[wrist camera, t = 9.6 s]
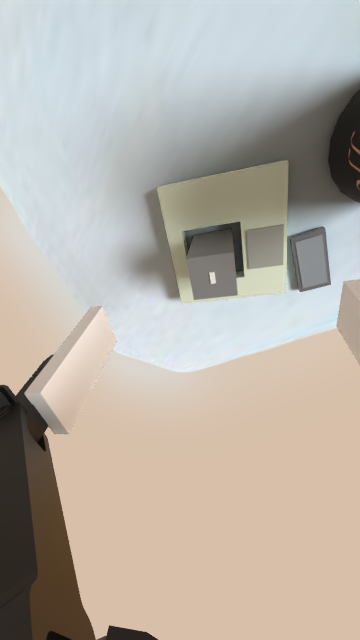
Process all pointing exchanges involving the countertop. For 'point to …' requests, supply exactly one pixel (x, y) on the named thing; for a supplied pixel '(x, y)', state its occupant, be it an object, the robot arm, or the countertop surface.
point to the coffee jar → (347, 150)
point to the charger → (212, 265)
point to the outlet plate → (229, 207)
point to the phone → (311, 259)
